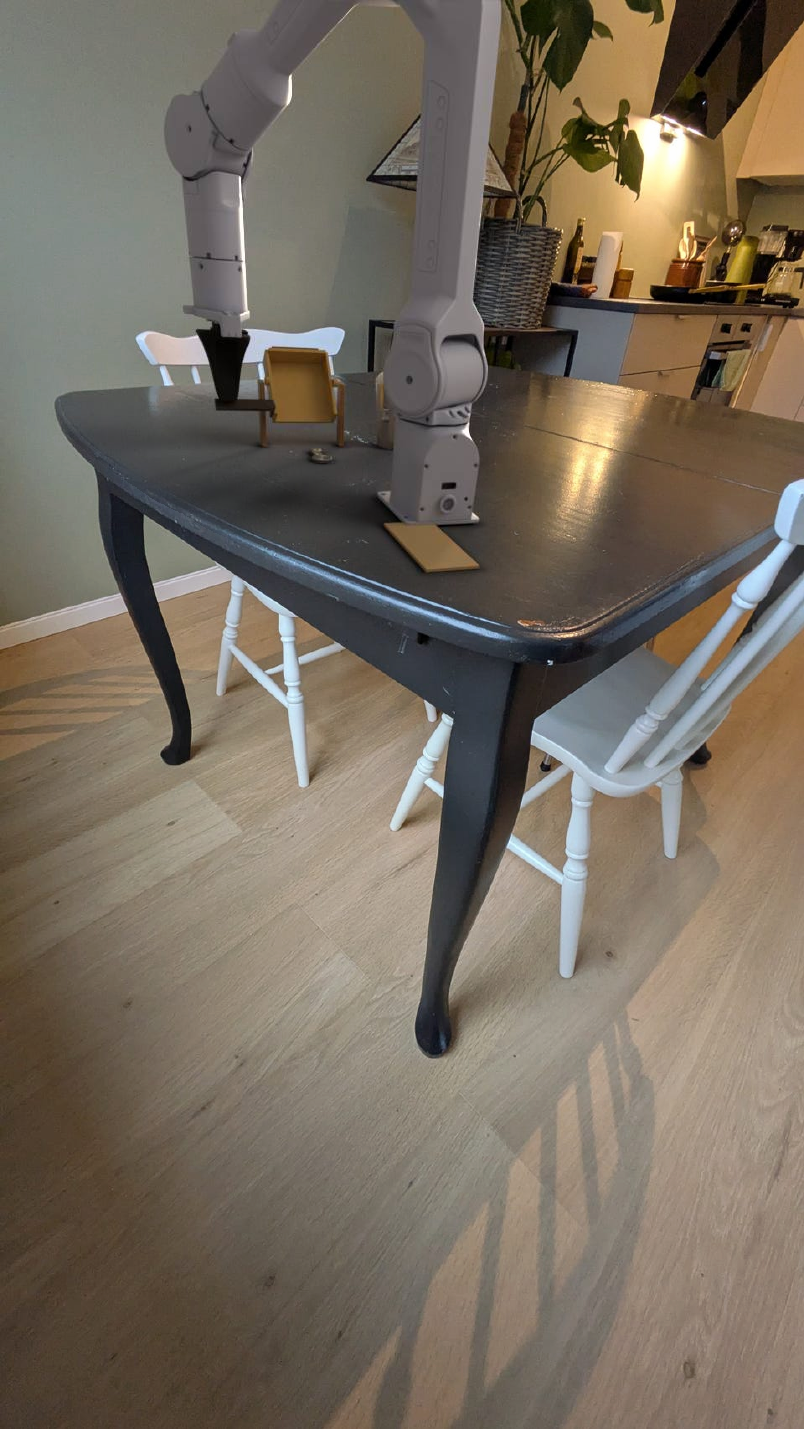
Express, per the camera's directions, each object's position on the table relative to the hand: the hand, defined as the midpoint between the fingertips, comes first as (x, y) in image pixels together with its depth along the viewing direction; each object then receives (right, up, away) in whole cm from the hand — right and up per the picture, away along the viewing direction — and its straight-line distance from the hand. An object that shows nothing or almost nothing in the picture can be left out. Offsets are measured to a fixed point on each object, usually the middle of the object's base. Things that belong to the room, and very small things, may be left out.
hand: (227, 400), depth 75 cm
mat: (+23, -22, -17) cm, 36 cm away
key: (+10, -5, +4) cm, 12 cm away
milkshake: (+19, -1, +12) cm, 22 cm away
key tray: (+4, +4, +5) cm, 8 cm away
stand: (+8, -2, +8) cm, 11 cm away
